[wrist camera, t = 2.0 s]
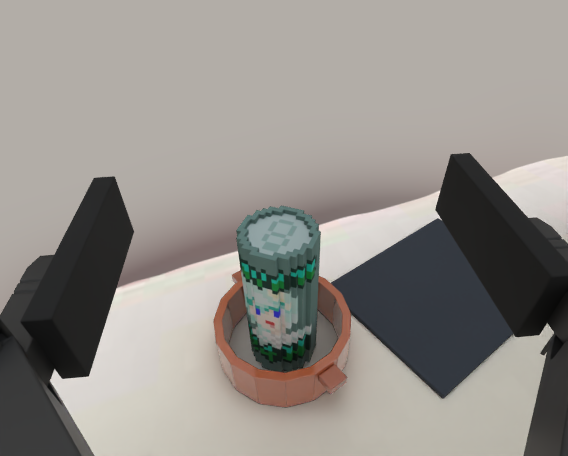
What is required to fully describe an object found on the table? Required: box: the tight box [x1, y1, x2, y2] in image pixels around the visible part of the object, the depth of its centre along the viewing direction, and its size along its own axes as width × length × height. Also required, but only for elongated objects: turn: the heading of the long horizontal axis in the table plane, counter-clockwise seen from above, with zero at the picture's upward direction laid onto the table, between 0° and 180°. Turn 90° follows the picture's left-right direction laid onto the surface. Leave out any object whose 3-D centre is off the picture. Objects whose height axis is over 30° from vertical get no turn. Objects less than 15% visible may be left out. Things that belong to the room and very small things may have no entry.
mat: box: [331, 218, 513, 398], centre depth 44 cm, size 20×16×1 cm
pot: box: [214, 270, 351, 407], centre depth 38 cm, size 13×16×4 cm
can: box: [236, 206, 321, 372], centre depth 35 cm, size 6×6×15 cm
